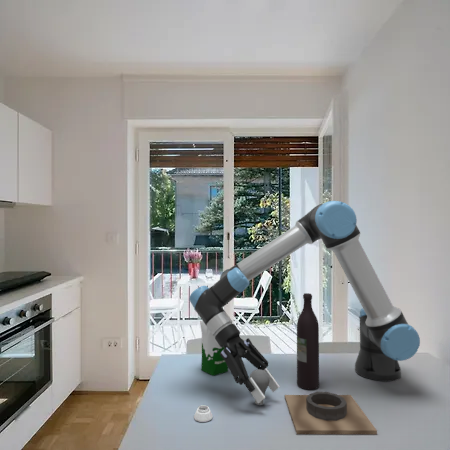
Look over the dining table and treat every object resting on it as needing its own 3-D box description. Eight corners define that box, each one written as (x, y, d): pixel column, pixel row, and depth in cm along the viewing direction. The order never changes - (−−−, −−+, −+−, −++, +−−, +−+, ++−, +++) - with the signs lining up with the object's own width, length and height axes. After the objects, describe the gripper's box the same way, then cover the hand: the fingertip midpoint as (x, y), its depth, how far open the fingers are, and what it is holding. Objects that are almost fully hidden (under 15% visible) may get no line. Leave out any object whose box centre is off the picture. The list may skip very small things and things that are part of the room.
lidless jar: (216, 417, 102) (200, 412, 105) (216, 406, 102) (200, 402, 105) (206, 425, 98) (190, 420, 101) (206, 414, 98) (190, 409, 101)
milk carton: (216, 364, 142) (216, 311, 142) (232, 371, 135) (231, 315, 135) (197, 370, 136) (197, 315, 137) (212, 377, 129) (212, 319, 129)
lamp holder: (350, 398, 113) (350, 385, 113) (377, 434, 93) (376, 418, 93) (284, 398, 113) (284, 384, 113) (296, 434, 93) (296, 418, 93)
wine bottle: (298, 380, 127) (298, 291, 127) (320, 383, 124) (319, 292, 125) (295, 388, 120) (295, 295, 120) (317, 391, 118) (317, 296, 118)
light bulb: (268, 410, 106) (268, 374, 106) (247, 408, 107) (247, 373, 107) (270, 400, 112) (270, 367, 112) (250, 398, 113) (250, 365, 113)
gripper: (235, 330, 127) (278, 389, 117) (195, 345, 110) (242, 416, 100) (248, 316, 124) (293, 376, 114) (210, 330, 107) (259, 401, 97)
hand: (269, 394), depth 107 cm, fingers open, 8 cm apart
